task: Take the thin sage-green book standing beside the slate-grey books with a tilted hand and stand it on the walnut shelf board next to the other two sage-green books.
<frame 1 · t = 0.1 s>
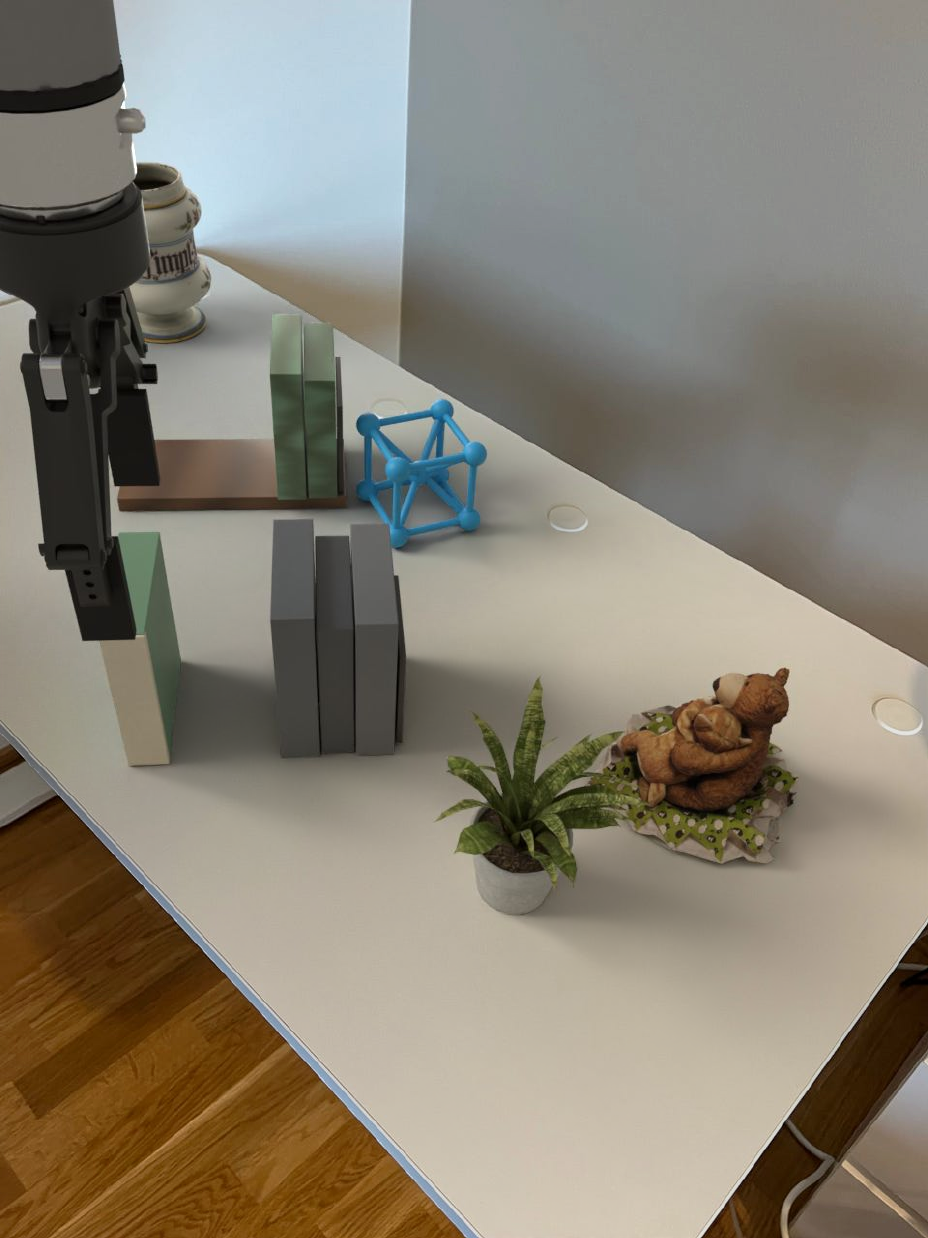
hand: (125, 553, 62), 25 cm above the table, tool pointing down, fingers open, 13 cm apart
bear figurine: (691, 787, 84), on the table
grey books: (343, 703, 88), on the table
apothecary jar: (165, 324, 130), on the table
book shelf: (236, 479, 109), on the table
green book: (156, 710, 86), on the table
house plant: (506, 900, 76), on the table
molecular structure: (417, 514, 107), on the table
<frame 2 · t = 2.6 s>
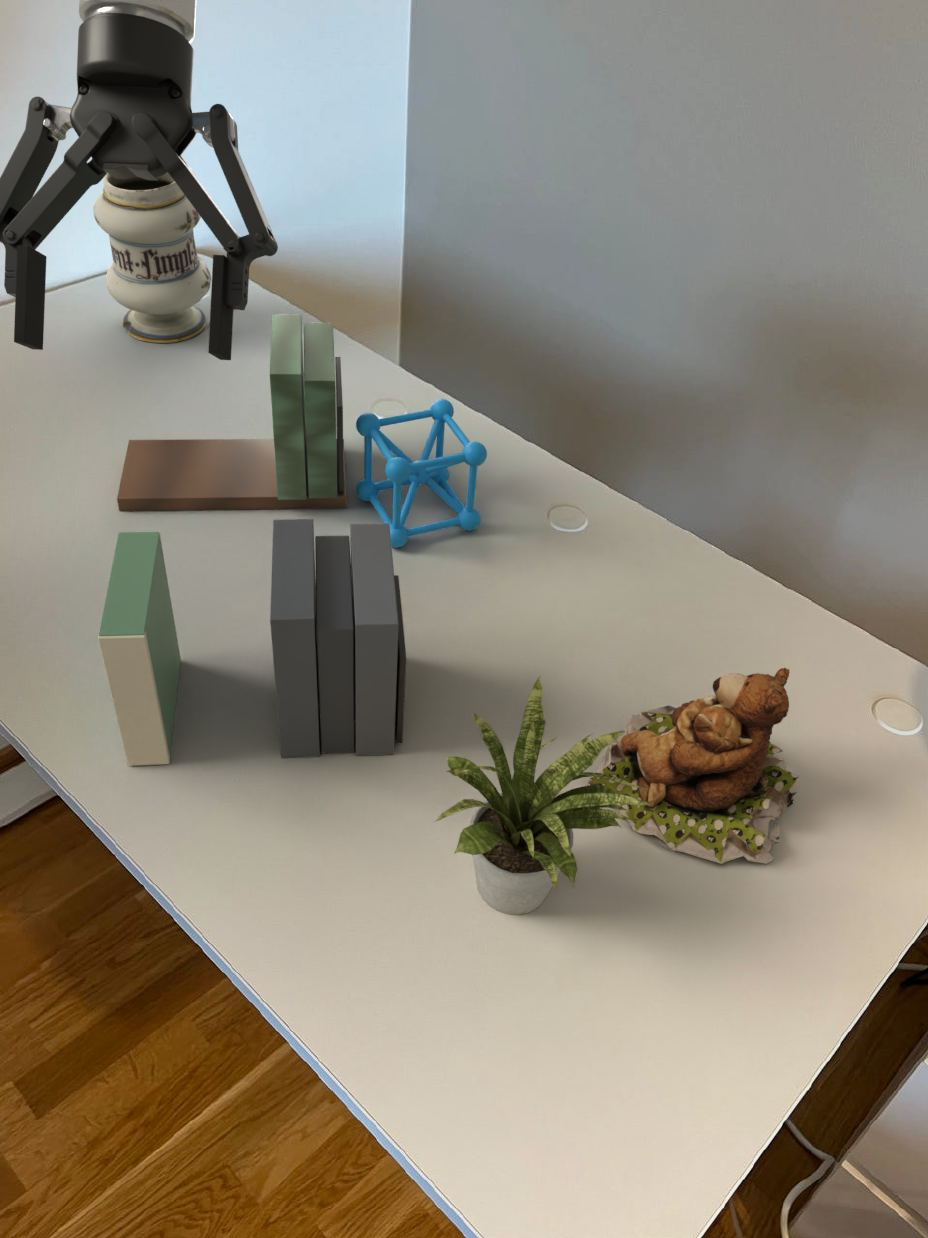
hand: (123, 351, 74), 27 cm above the table, tool tilted 40°, fingers open, 13 cm apart
nothing on the table moved.
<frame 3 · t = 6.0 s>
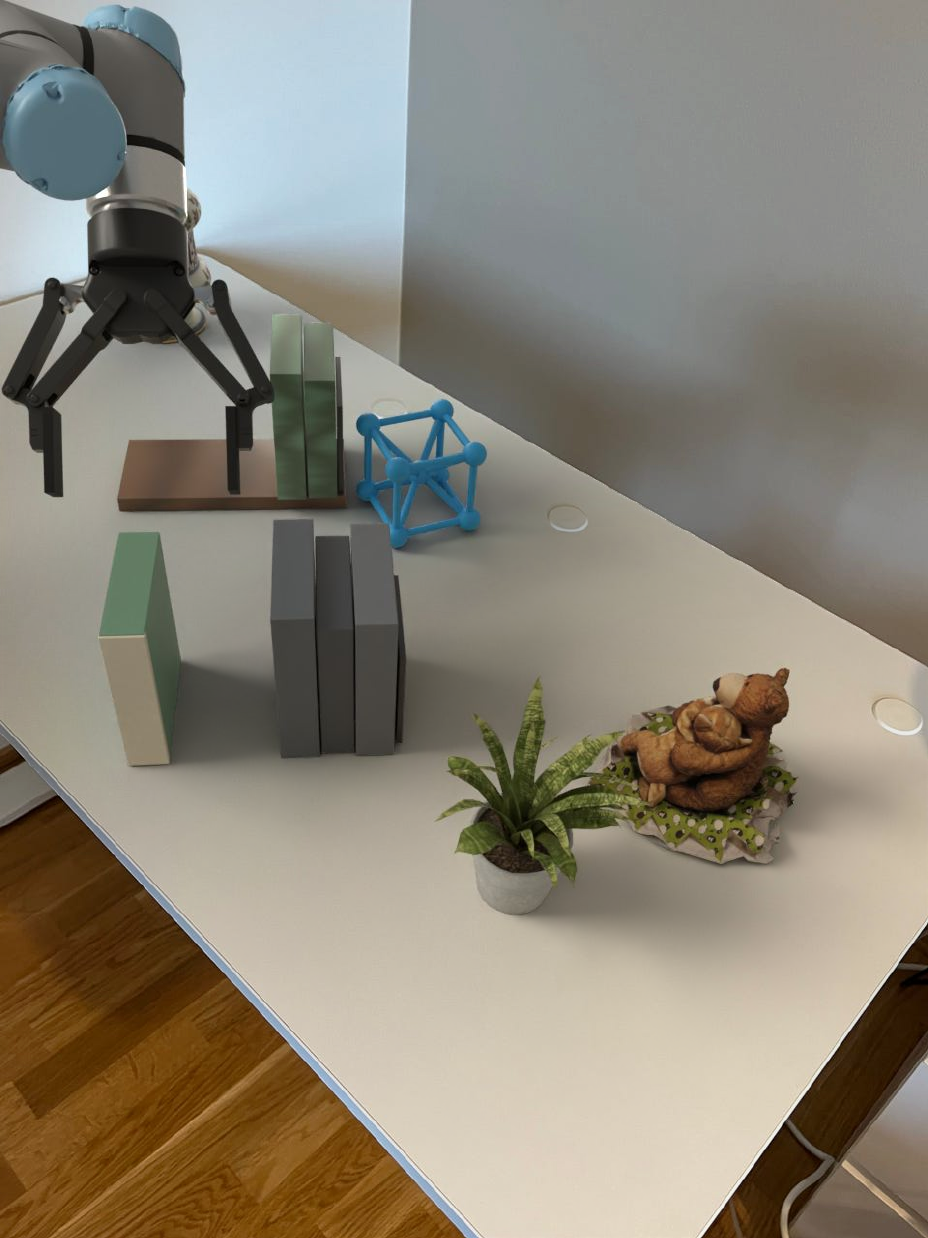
hand: (145, 494, 83), 14 cm above the table, tool tilted 45°, fingers open, 13 cm apart
nothing on the table moved.
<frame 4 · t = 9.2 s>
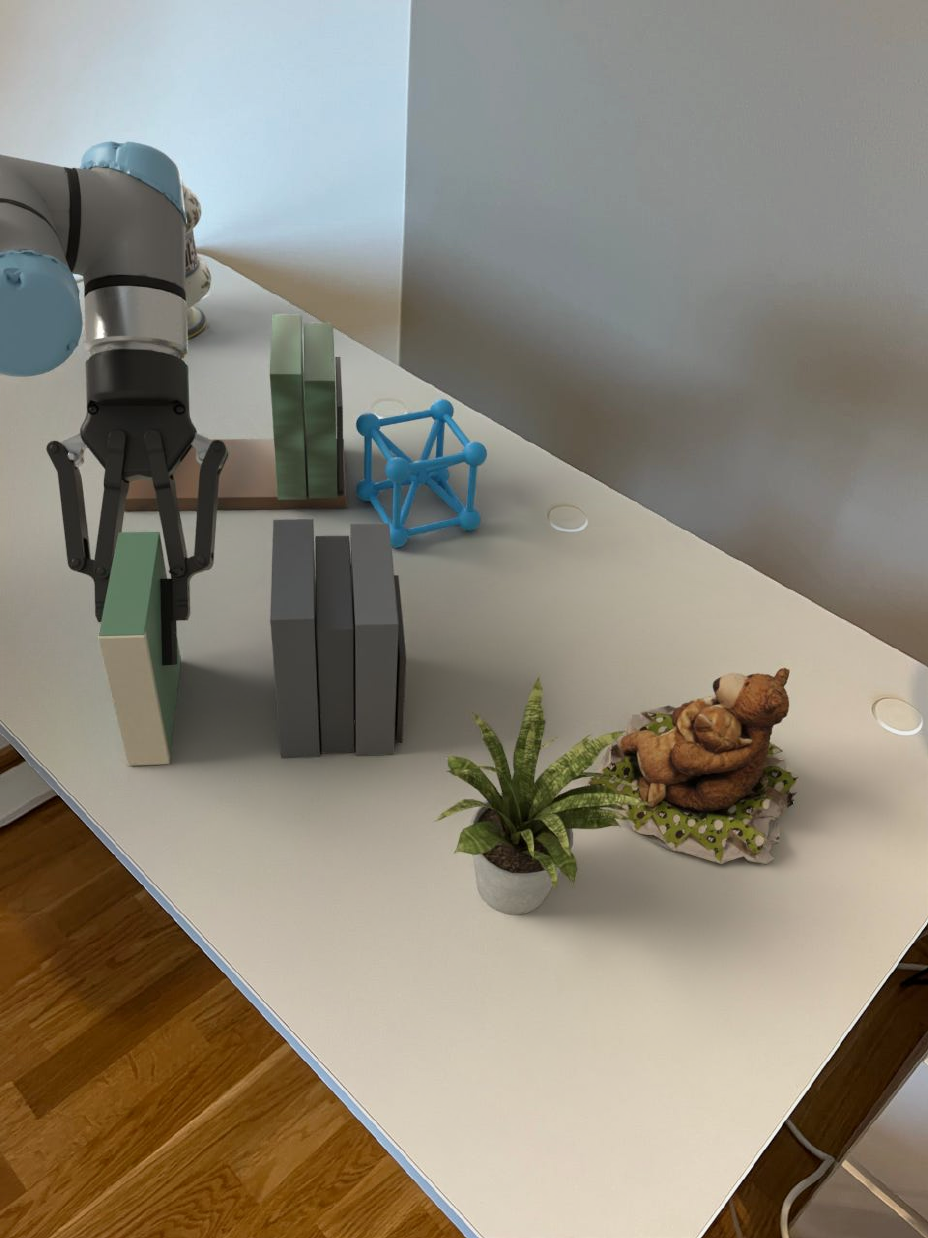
hand: (144, 665, 81), 6 cm above the table, tool tilted 45°, fingers closed on green book, 3 cm apart
green book: (156, 710, 86), on the table, touching gripper
everything else where it was.
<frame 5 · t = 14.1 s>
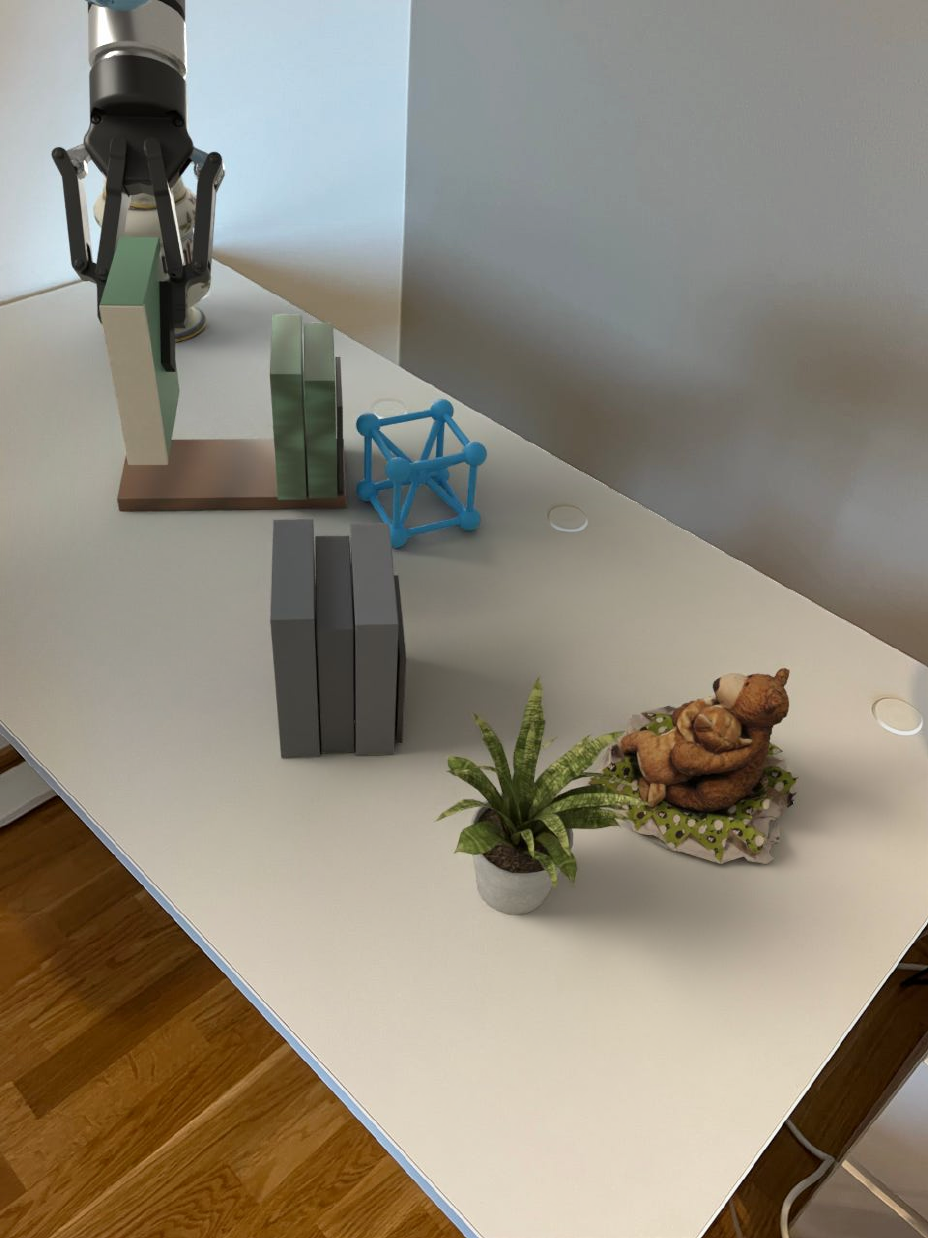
hand: (144, 366, 85), 20 cm above the table, tool tilted 45°, fingers closed on green book, 3 cm apart
green book: (155, 426, 90), point 14 cm above the table, touching gripper
everything else where it was.
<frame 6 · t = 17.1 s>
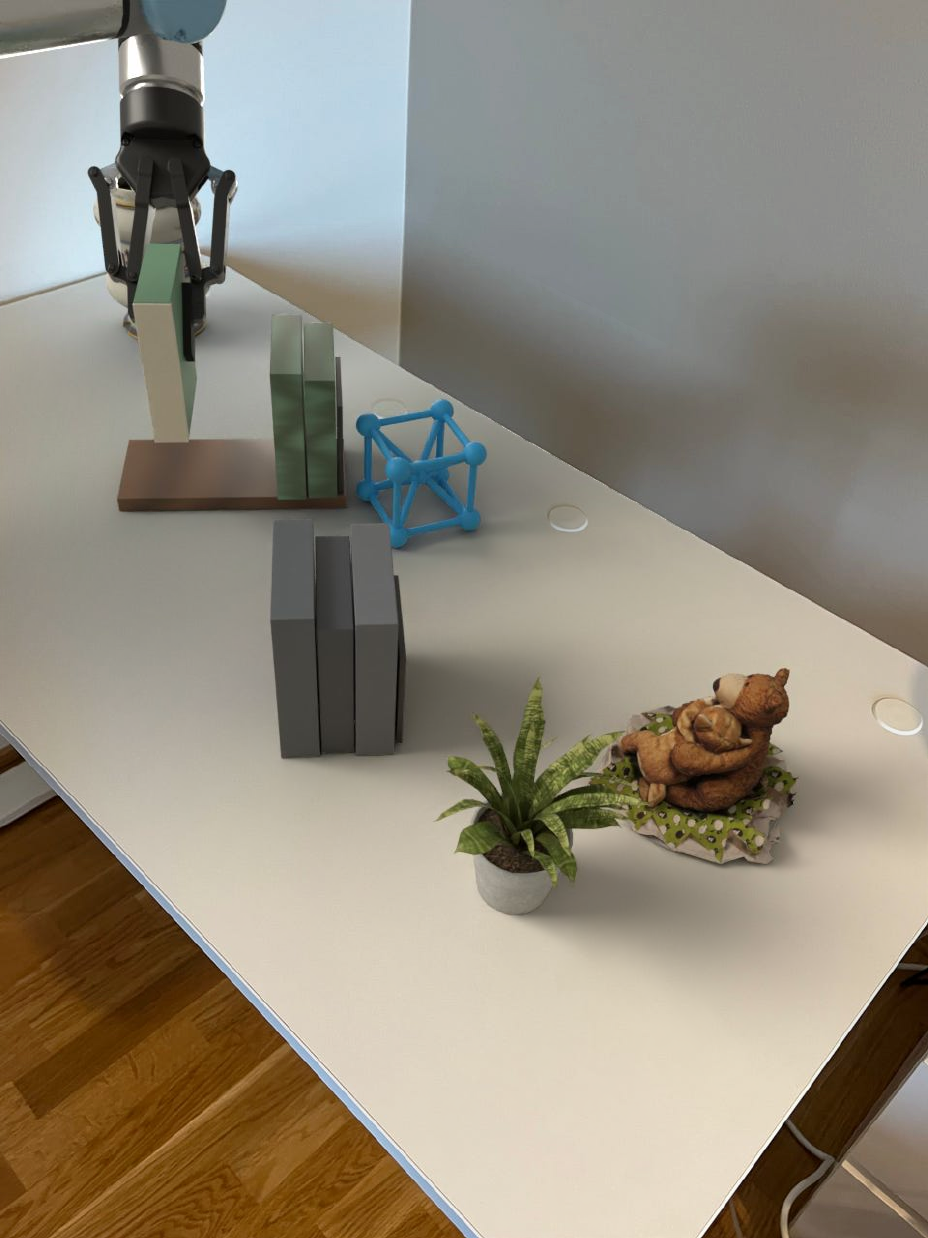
hand: (168, 357, 98), 14 cm above the table, tool tilted 45°, fingers closed on green book, 3 cm apart
green book: (177, 409, 102), point 8 cm above the table, touching gripper
everything else where it was.
when the fingers open (8 cm above the table, at t = 19.2 s): green book stays where it is, resting on book shelf.
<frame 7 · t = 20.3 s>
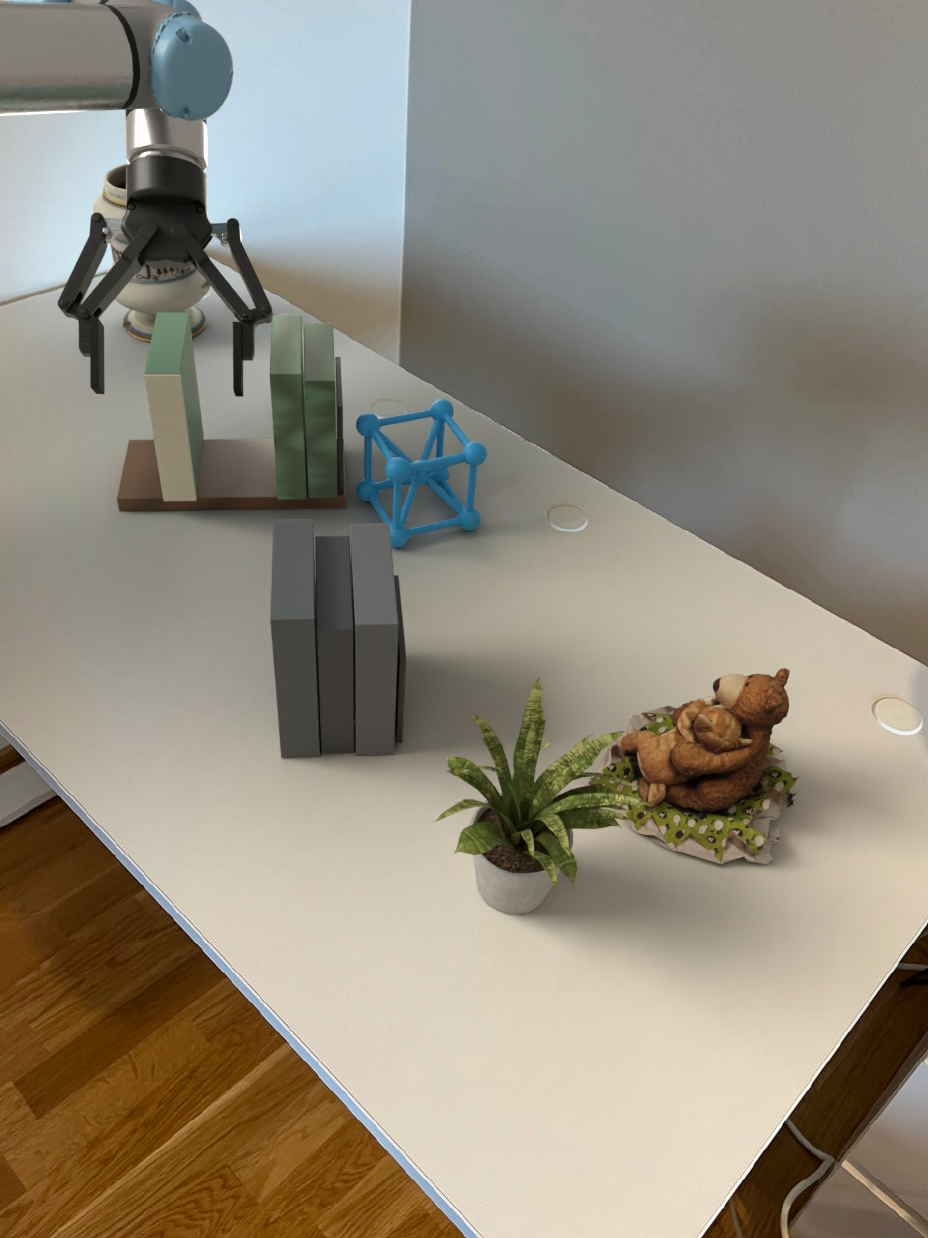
hand: (168, 392, 102), 10 cm above the table, tool tilted 45°, fingers open, 12 cm apart
green book: (184, 467, 107), point 1 cm above the table, touching book shelf
everything else where it was.
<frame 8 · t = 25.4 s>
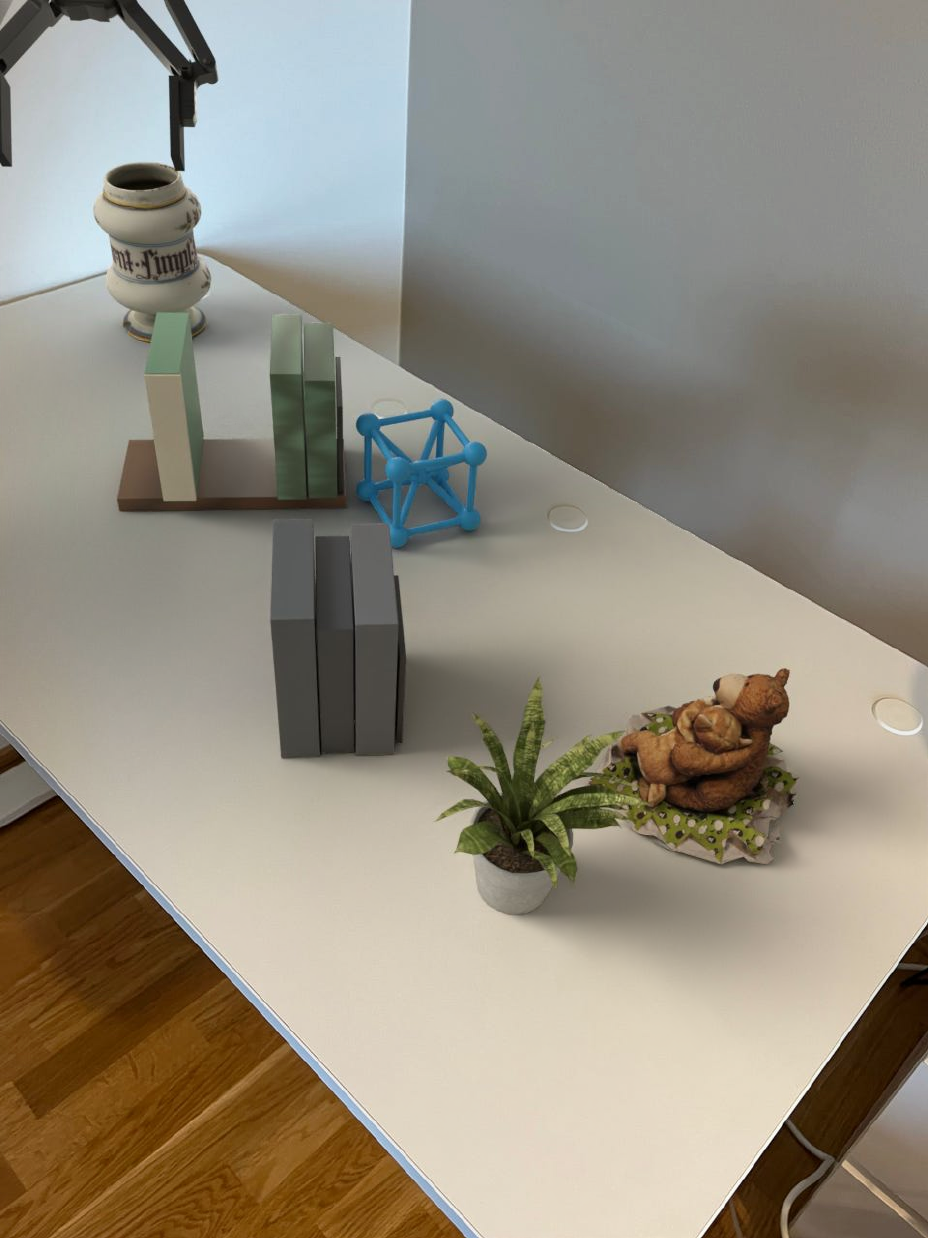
hand: (90, 161, 86), 32 cm above the table, tool tilted 45°, fingers open, 13 cm apart
nothing on the table moved.
at the end: green book inside the target area on the book shelf (0.1 cm from its centre), point 1.5 cm above the book shelf's base; green book tilted 0°; the gripper is holding nothing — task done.
